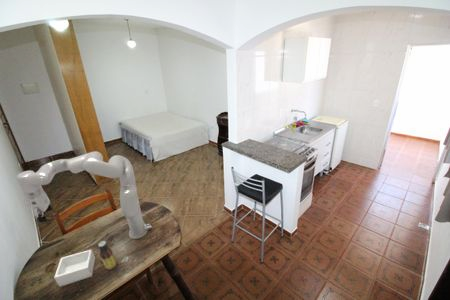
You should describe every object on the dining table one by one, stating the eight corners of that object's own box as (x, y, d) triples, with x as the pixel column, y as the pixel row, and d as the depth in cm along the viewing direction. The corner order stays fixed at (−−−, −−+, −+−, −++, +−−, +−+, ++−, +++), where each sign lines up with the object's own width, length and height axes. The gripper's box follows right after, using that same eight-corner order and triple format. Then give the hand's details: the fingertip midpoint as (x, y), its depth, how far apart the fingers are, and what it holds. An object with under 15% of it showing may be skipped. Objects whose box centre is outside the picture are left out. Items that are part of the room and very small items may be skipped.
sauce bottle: (108, 261, 133) (99, 238, 124) (118, 260, 133) (110, 237, 125) (103, 271, 127) (93, 248, 118) (114, 270, 128) (105, 247, 119)
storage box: (95, 258, 136) (91, 249, 132) (91, 276, 125) (87, 267, 121) (65, 266, 131) (60, 257, 127) (59, 287, 120) (54, 277, 116)
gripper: (36, 199, 112) (49, 224, 120) (47, 182, 127) (58, 205, 135) (19, 203, 110) (33, 228, 118) (32, 185, 125) (43, 208, 132)
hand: (46, 215), depth 126 cm, fingers open, 9 cm apart
